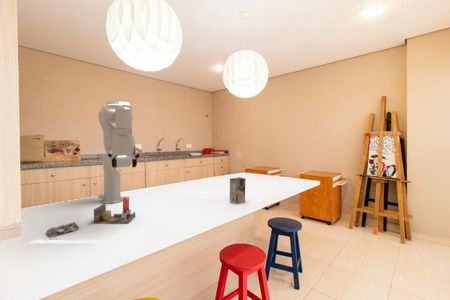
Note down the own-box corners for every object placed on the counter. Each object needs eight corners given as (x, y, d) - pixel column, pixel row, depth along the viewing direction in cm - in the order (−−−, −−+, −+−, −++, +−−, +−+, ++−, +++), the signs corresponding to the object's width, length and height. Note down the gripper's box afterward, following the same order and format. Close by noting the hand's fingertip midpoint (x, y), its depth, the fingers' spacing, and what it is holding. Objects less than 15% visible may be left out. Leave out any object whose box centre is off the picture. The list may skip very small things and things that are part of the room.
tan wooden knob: (100, 221, 104) (100, 213, 103) (104, 218, 108) (104, 210, 107) (108, 221, 104) (108, 213, 104) (112, 218, 108) (112, 210, 108)
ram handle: (120, 221, 103) (120, 199, 103) (125, 217, 109) (125, 196, 108) (126, 221, 104) (126, 199, 103) (131, 217, 109) (131, 196, 108)
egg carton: (49, 242, 86) (48, 232, 86) (45, 236, 91) (45, 227, 91) (79, 233, 94) (79, 224, 94) (75, 228, 99) (75, 220, 99)
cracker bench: (91, 226, 101) (91, 210, 100) (102, 218, 111) (102, 203, 110) (128, 226, 101) (127, 210, 101) (136, 218, 111) (135, 203, 111)
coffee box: (238, 199, 150) (239, 177, 149) (245, 201, 145) (245, 178, 144) (229, 201, 144) (229, 178, 143) (235, 204, 139) (236, 180, 138)
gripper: (101, 132, 101) (102, 168, 101) (138, 132, 101) (139, 168, 102) (109, 132, 108) (110, 166, 109) (144, 133, 109) (144, 166, 109)
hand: (124, 167), depth 105 cm, fingers open, 9 cm apart
